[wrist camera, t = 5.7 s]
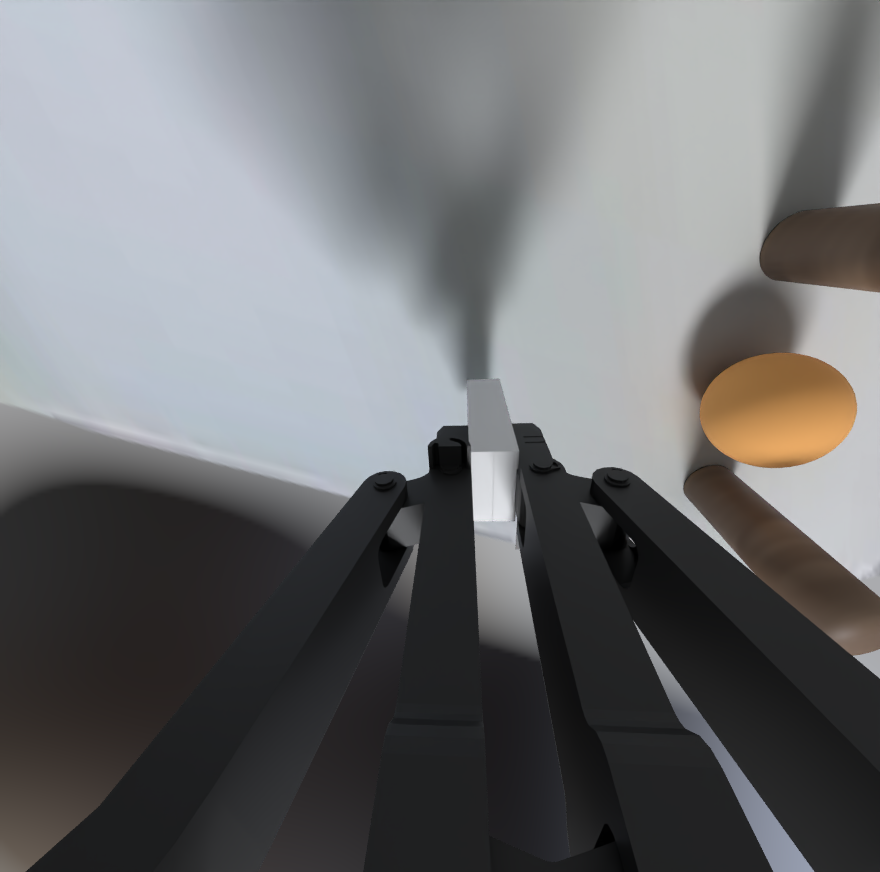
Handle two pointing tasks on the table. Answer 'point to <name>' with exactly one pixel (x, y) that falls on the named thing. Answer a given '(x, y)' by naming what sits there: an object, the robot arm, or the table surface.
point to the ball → (778, 410)
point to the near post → (826, 248)
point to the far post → (788, 559)
